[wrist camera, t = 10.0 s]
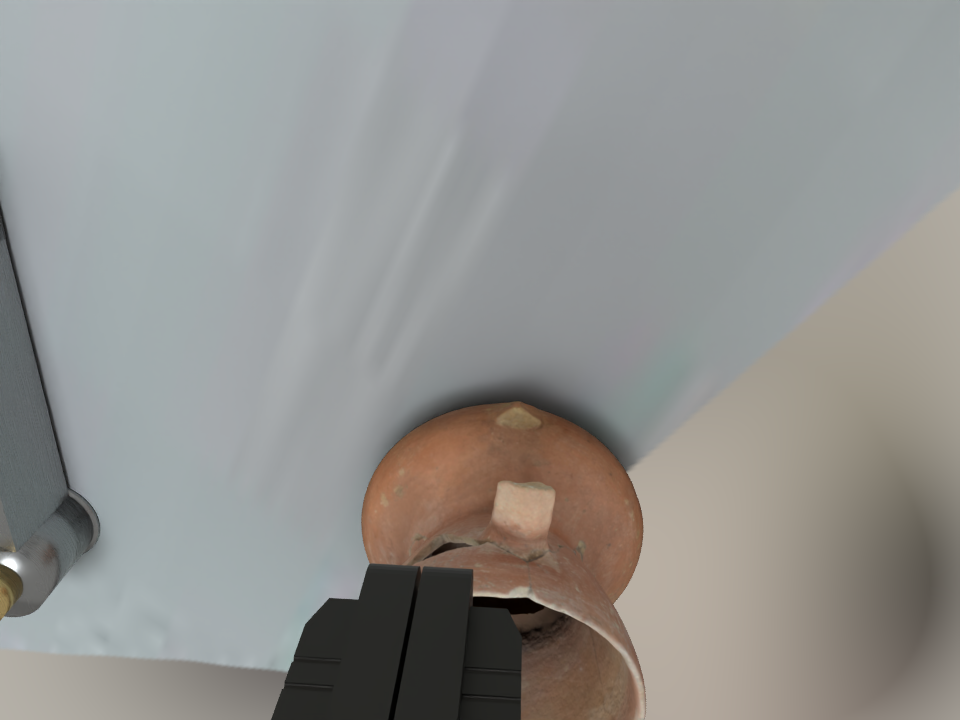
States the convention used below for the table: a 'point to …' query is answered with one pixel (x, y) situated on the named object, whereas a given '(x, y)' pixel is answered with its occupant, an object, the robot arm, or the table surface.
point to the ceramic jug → (524, 544)
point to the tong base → (91, 513)
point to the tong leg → (31, 465)
